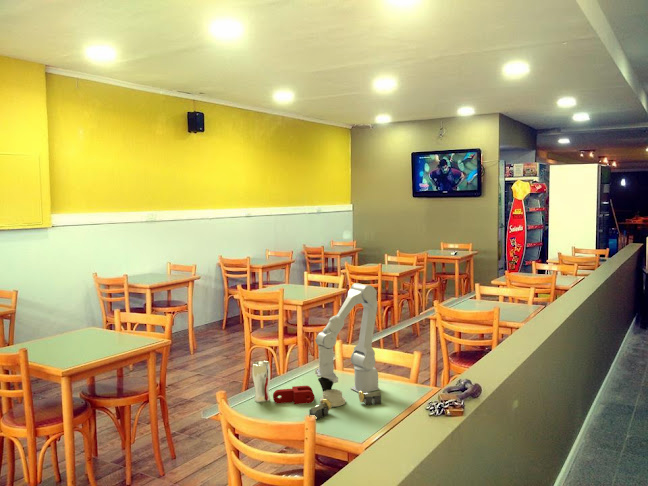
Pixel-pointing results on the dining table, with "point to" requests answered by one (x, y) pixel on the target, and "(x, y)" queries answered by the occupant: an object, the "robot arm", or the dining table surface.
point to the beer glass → (261, 380)
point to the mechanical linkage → (294, 395)
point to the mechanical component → (333, 397)
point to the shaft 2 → (370, 398)
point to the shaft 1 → (321, 409)
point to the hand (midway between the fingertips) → (326, 395)
